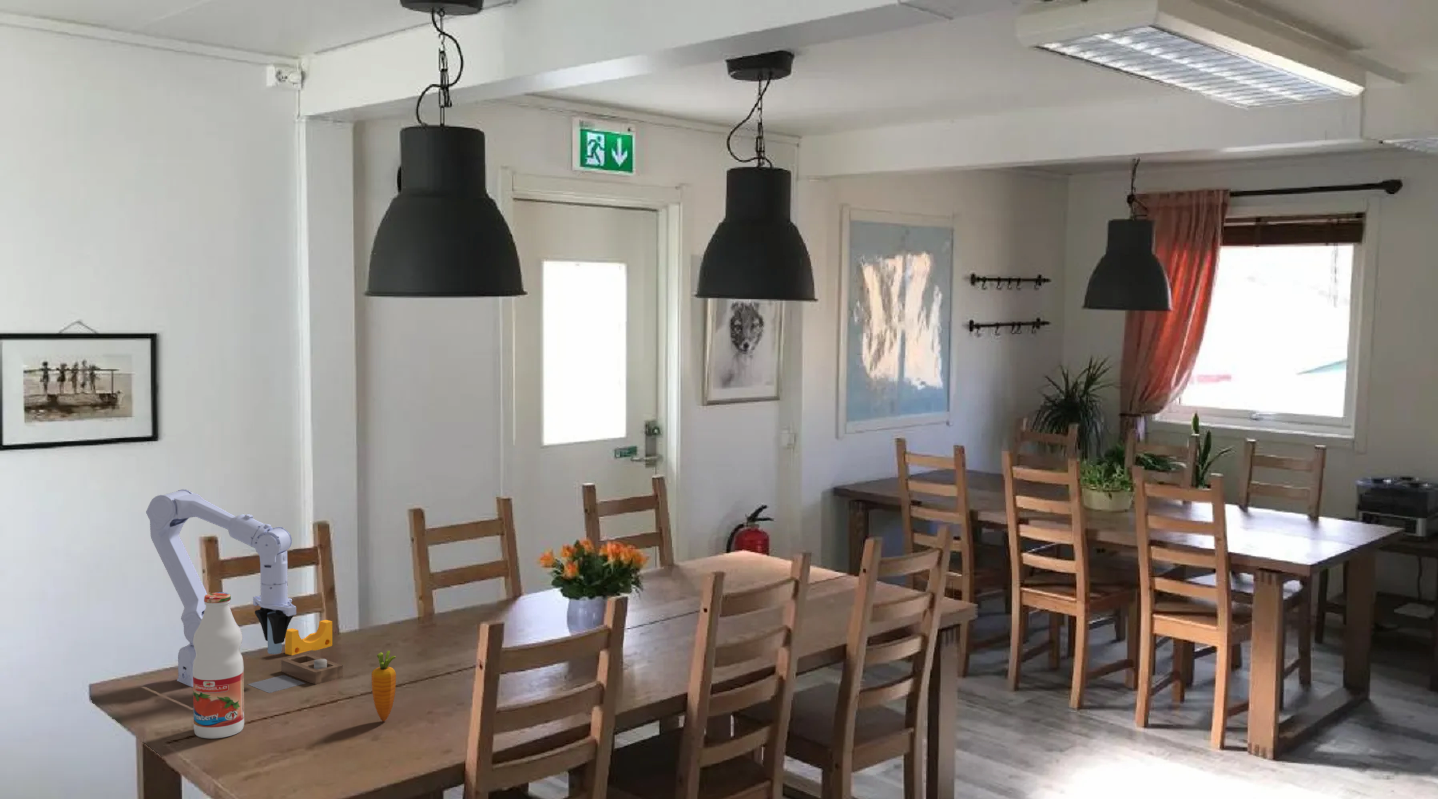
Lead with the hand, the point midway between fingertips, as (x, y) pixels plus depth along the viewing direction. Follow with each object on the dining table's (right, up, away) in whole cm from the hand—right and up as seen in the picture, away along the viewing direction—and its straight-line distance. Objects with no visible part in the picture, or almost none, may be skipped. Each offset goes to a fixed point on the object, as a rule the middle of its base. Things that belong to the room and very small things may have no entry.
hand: (274, 641), depth 266 cm
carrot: (+31, -13, -21) cm, 39 cm away
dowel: (0, -3, 0) cm, 2 cm away
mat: (0, -10, 0) cm, 10 cm away
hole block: (+6, -10, +7) cm, 13 cm away
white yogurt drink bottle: (0, -12, -29) cm, 31 cm away
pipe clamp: (-2, -8, +27) cm, 29 cm away
